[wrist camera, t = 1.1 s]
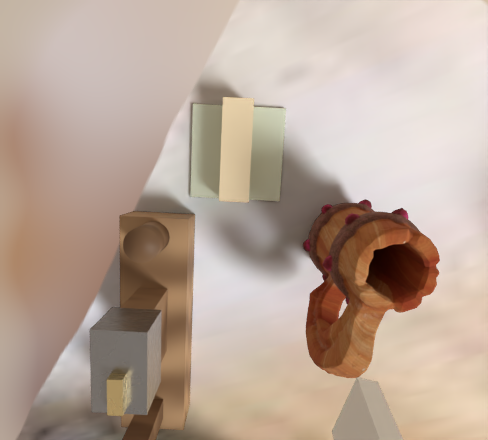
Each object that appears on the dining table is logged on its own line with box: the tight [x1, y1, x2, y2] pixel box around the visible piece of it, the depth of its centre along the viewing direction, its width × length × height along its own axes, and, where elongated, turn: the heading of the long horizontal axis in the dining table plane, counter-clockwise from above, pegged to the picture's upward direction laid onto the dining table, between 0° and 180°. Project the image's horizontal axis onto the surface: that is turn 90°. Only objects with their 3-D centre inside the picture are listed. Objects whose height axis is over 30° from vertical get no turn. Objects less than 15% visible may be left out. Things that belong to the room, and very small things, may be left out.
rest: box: [190, 97, 286, 203], centre depth 32 cm, size 10×10×4 cm
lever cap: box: [90, 307, 162, 416], centre depth 26 cm, size 7×4×5 cm, turn 177°
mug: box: [303, 200, 440, 378], centre depth 29 cm, size 15×8×15 cm, turn 154°
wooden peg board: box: [120, 211, 195, 440], centre depth 32 cm, size 24×7×11 cm, turn 177°
